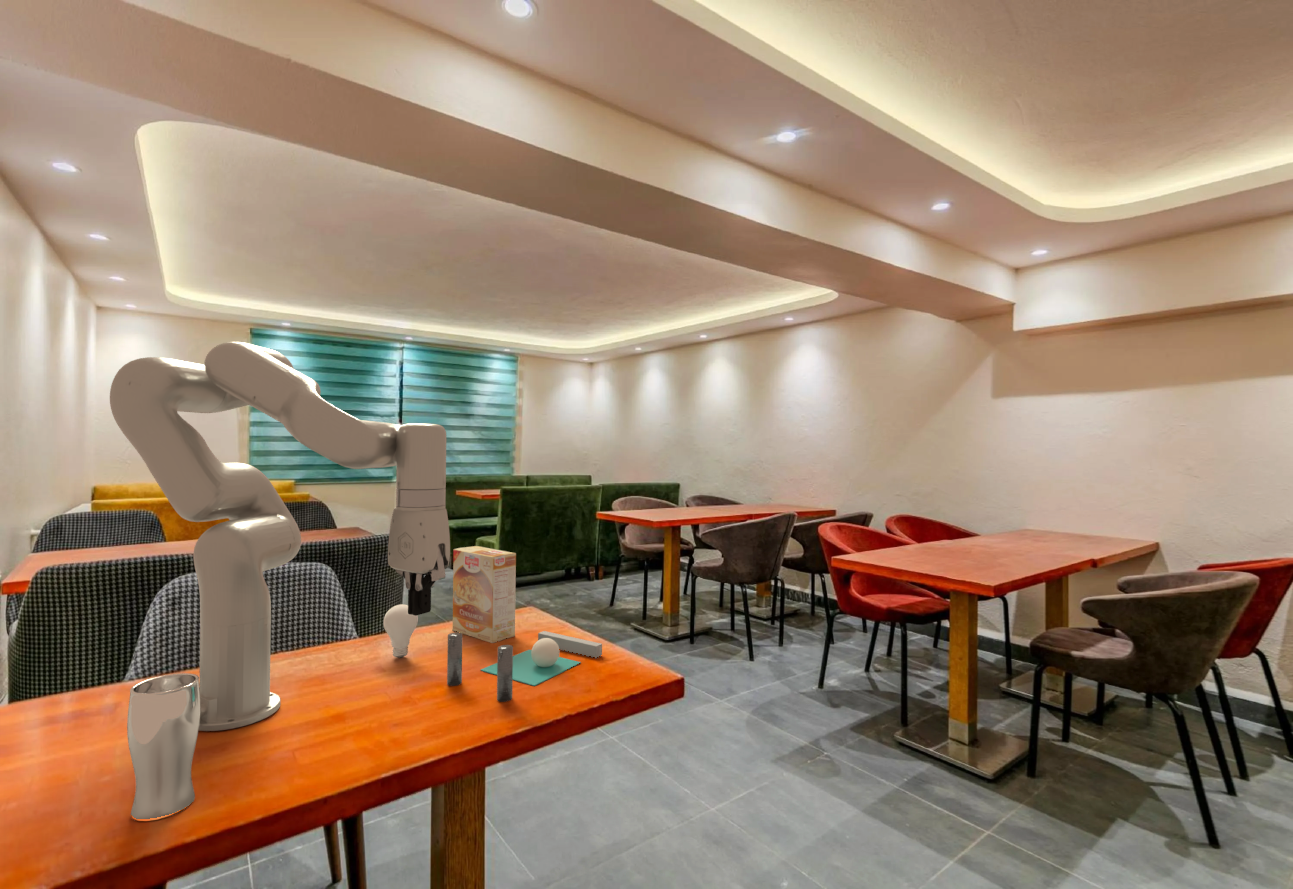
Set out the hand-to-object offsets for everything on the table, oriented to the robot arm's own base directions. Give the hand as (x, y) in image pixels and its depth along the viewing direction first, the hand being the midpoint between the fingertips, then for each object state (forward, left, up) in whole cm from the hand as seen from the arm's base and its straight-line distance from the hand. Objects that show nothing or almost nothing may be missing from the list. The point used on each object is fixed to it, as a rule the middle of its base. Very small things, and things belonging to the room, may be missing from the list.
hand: (419, 612), depth 97 cm
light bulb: (+16, +26, -17) cm, 35 cm away
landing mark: (+27, 0, -17) cm, 32 cm away
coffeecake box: (+37, +24, -17) cm, 47 cm away
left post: (+13, +6, -17) cm, 22 cm away
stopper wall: (+39, 0, -17) cm, 43 cm away
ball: (+29, -2, -14) cm, 32 cm away
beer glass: (-32, +6, -17) cm, 37 cm away
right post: (+13, -6, -17) cm, 22 cm away
